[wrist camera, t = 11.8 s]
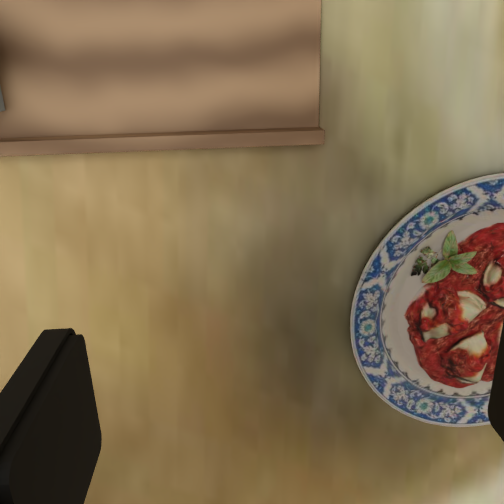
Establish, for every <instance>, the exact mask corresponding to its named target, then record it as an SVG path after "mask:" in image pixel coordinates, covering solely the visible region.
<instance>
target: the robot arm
mask: <svg viewBox="0 0 504 504" xmlns="http://www.w3.org/2000/svg"><path fill="white" fill-rule="evenodd" d="M488 418H489V421H490V423H491V425H492V427H493V428H494V429H495V431H496V432H497V433H498V435H499V436H500V437H501V439H502V440H503V441H504V320H503V326H502V332H501V337H500V343H499V348H498V354H497V359H496V365H495V370H494V376H493V381H492V387H491V392H490V398H489V403H488ZM100 450H101V430H100V424H99V419H98V413H97V407H96V402H95V396H94V390H93V385H92V379H91V373H90V368H89V362H88V356H87V351H86V345H85V340H84V337H83V335H82V334H81V335H76V334H75V331H74V330H73V329H72V328H68V329H50V330H44V331H43V332H42V333H41V334H40V336H39V337H38V339H37V340H36V342H35V343H34V345H33V346H32V348H31V349H30V351H29V352H28V353H27V355H26V356H25V358H24V359H23V361H22V362H21V364H20V365H19V367H18V368H17V370H16V371H15V372H14V374H13V375H12V377H11V378H10V380H9V381H8V383H7V384H6V386H5V387H4V389H3V390H2V391H1V393H0V504H84V501H85V498H86V495H87V491H88V488H89V485H90V482H91V479H92V476H93V472H94V469H95V466H96V463H97V460H98V457H99V454H100Z"/></svg>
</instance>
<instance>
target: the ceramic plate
mask: <svg viewBox="0 0 504 504" xmlns="http://www.w3.org/2000/svg"><path fill="white" fill-rule="evenodd" d="M503 320H504V173H498V174H492V175H486V176H482V177H478V178H474V179H471V180H468V181H465V182H462V183H459V184H457V185H454V186H452V187H450V188H448V189H446V190H444V191H441V192H440V193H438V194H436V195H434V196H433V197H431V198H429V199H427V200H426V201H425V202H423V203H422V204H420V205H419V206H417V207H416V208H414V209H413V210H412V211H411V212H410V213H408V214H407V215H406V216H405V217H404V218H402V219H401V220H400V221H399V222H398V223H397V224H396V225H395V226H394V227H393V228H392V229H391V230H390V231H389V233H388V234H387V235H386V236H385V237H384V238H383V240H382V241H381V242H380V244H379V245H378V246H377V248H376V249H375V251H374V252H373V254H372V255H371V257H370V259H369V261H368V262H367V264H366V266H365V268H364V269H363V271H362V274H361V276H360V279H359V282H358V285H357V287H356V290H355V294H354V298H353V302H352V308H351V315H350V333H351V343H352V349H353V353H354V356H355V359H356V362H357V365H358V367H359V369H360V371H361V373H362V375H363V377H364V378H365V380H366V381H367V383H368V384H369V386H370V387H371V388H372V389H373V391H374V392H375V393H376V394H377V395H378V396H379V397H380V398H381V399H382V400H383V401H385V402H386V403H387V404H389V405H390V406H391V407H393V408H394V409H396V410H397V411H399V412H401V413H403V414H405V415H407V416H409V417H411V418H414V419H417V420H419V421H422V422H426V423H430V424H435V425H441V426H451V427H471V426H481V425H488V424H491V423H490V421H489V418H488V403H489V398H490V392H491V387H492V381H493V376H494V370H495V365H496V359H497V354H498V348H499V343H500V337H501V332H502V326H503Z"/></svg>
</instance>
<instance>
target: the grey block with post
mask: <svg viewBox="0 0 504 504" xmlns="http://www.w3.org/2000/svg"><path fill="white" fill-rule="evenodd" d="M1 111H5V107H4V102H3V97H2V92H1V87H0V112H1Z"/></svg>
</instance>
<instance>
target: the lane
mask: <svg viewBox="0 0 504 504" xmlns="http://www.w3.org/2000/svg"><path fill="white" fill-rule="evenodd" d="M320 29H321V0H0V87H1V92H2V97H3V102H4V107H5V111H1V112H0V156H22V155H49V154H76V153H102V152H129V151H155V150H182V149H208V148H235V147H261V146H288V145H315V144H324V137H325V130H323V129H322V128H320V127H318V125H319V77H320Z"/></svg>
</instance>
